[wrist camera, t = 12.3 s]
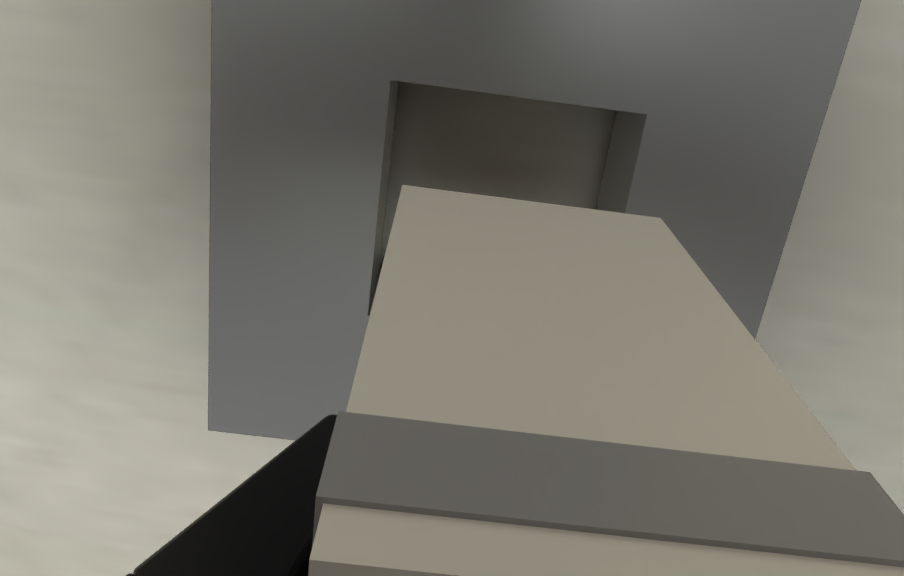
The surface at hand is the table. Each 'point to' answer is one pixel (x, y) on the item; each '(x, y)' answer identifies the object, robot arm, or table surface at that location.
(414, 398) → the plug
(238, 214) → the socket block
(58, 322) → the table surface
